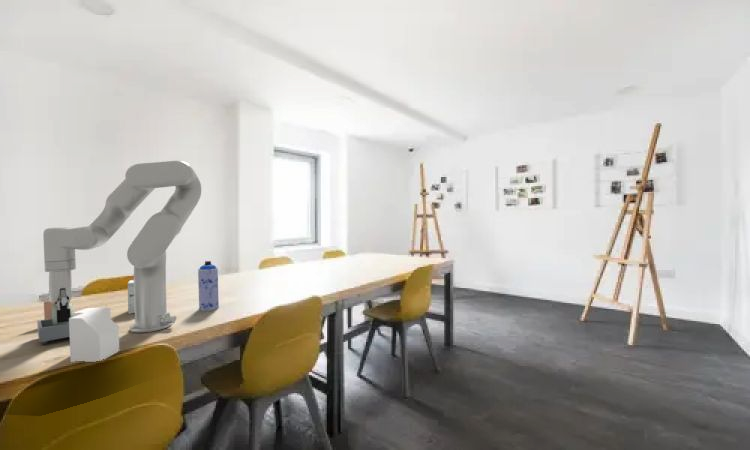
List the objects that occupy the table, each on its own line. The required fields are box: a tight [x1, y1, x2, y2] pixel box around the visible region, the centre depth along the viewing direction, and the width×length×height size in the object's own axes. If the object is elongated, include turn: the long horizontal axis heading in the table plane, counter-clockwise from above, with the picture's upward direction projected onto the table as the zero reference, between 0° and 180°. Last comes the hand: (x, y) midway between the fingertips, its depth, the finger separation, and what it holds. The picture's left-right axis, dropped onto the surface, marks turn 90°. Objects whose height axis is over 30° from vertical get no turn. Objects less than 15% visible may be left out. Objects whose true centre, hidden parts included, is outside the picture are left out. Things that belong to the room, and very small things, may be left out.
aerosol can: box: [197, 260, 220, 312], centre depth 149 cm, size 8×8×20 cm
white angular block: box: [69, 307, 120, 363], centre depth 102 cm, size 11×11×12 cm
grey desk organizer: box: [36, 299, 71, 345], centre depth 121 cm, size 27×12×9 cm, turn 45°
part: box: [52, 302, 74, 326], centre depth 115 cm, size 5×5×8 cm
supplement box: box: [127, 279, 135, 315], centre depth 147 cm, size 7×7×13 cm
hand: (62, 318), depth 115 cm, fingers open, 8 cm apart
